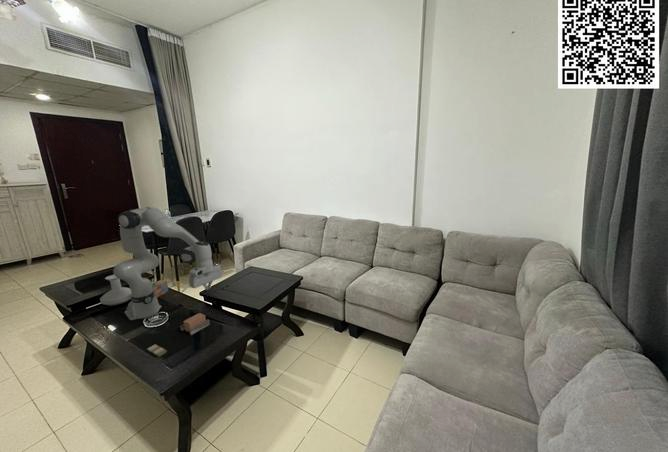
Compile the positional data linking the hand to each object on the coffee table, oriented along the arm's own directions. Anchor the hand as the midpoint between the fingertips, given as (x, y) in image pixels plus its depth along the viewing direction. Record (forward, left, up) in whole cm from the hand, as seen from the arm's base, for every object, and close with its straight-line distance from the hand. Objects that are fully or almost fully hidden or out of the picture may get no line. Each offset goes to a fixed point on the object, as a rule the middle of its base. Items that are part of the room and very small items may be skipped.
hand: (208, 289), depth 162 cm
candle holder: (-84, -15, -21) cm, 88 cm away
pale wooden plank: (0, -19, -21) cm, 28 cm away
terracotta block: (0, -11, -20) cm, 23 cm away
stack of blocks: (-67, 0, -22) cm, 70 cm away
